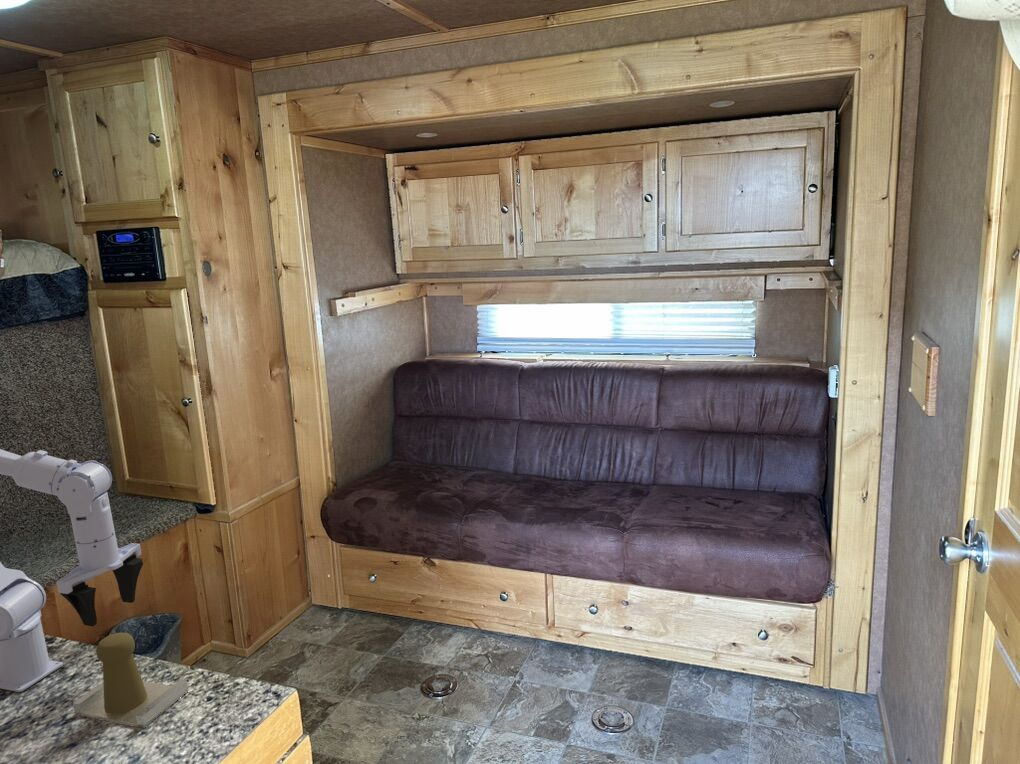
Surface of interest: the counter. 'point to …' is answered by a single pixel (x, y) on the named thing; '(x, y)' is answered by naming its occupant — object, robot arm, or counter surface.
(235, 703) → the counter surface
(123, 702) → the brown rounded piece
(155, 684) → the bottom track
